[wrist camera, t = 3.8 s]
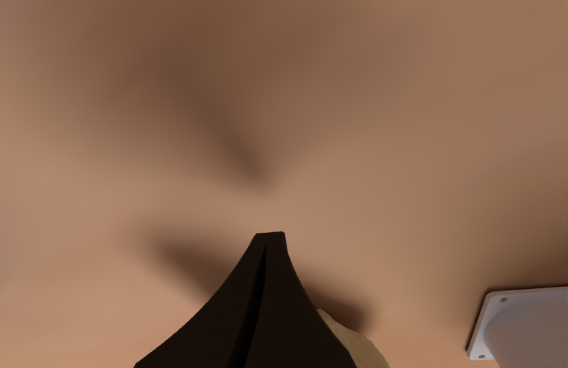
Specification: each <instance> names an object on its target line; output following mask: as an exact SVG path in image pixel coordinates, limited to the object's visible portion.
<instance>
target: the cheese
mask: <svg viewBox="0 0 568 368" xmlns="http://www.w3.org/2000/svg"><path fill="white" fill-rule="evenodd" d="M317 311H318V312H319V314H320V315H321V317H322V318H323V320H324V321H325V322H326V324H327V325H328V326H329V328H330V329H331V330H332V332H333V333H334V334H335V335H336V337H337V338H338V339H339V340H340V341H341V343H342V344H343V345H344V346H345V347H346V348H347V350H348V351H349V353H350V355H351V357H352V359H353V360H354V362H355V364H356V366H357V368H390V367H389V365H388V363H387V361H386V360H385V358H384V357H383V355H382V354H381V353H380V352H379V351H378V349H377V348H376V347H375V346H374V344H373V343H372V342H371V341H370V340H368V339H367V338H366V337H365V336H363V335H362V334H360V333H357V332H355V331H353V330H350V329H348V328H346V327H344V326H343V325H341V324H339V323H338V322H335V321H334V320H333V319H332V318H331V317H330V316H329V314H327V313H326V312H324V311H323V310H321V309H317Z"/></svg>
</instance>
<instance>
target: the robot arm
mask: <svg viewBox="0 0 568 368" xmlns="http://www.w3.org/2000/svg"><path fill="white" fill-rule="evenodd" d="M467 356H468V357H469V359H471V360H486V359H495V360H496V362H497V363H498V365H499V367H500V368H568V286H567V287H552V288H538V289H524V290H509V291H495V292H490V293H488V294H487V296H486V298H485V301H484V304H483V306H482V309H481V312H480V315H479V318H478V321H477V324H476V327H475V330H474V333H473V336H472V339H471V342H470V345H469V348H468V351H467ZM134 368H357V366H356V364H355V362H354V360H353V359H352V357H351V355H350V353H349V351H348V350H347V348H346V347H345V346H344V345H343V344H342V343H341V341H340V340H339V339H338V338H337V337H336V335H335V334H334V333H333V332H332V330H331V329H330V328H329V326H328V325H327V324H326V322H325V321H324V320H323V318H322V317H321V315H320V314H319V312H318V311H317V309H316V308H315V307H314V305H313V304H312V302H311V300H310V299H309V297H308V295H307V294H306V292H305V290H304V288H303V287H302V285H301V283H300V281H299V279H298V277H297V275H296V272H295V270H294V268H293V265H292V263H291V260H290V258H289V255H288V251H287V244H286V238H285V233H284V232H282V231H280V232H269V233H258V234H256V235H255V236H254V237H253V239H252V241H251V243H250V245H249V246H248V248H247V250H246V251H245V253H244V255H243V256H242V258H241V259H240V261H239V262H238V264H237V265H236V267H235V268H234V270H233V271H232V272H231V274H230V275H229V276H228V278H227V279H226V280H225V282H224V283H223V284H222V286H221V287H220V288H219V289H218V290H217V292H216V293H215V294H214V295H213V296H212V297H211V299H210V300H209V301H208V302H207V303H206V304H205V305H204V306H203V307H202V308H201V309H200V310H199V311H198V312H197V313H196V314H195V315H194V316H193V317H192V318H191V319H190V320H189V321H188V322H187V323H186V324H185V325H184V326H182V327H181V328H180V329H179V330H178V331H177V332H176V333H174V334H173V335H172V336H171V337H170V338H168V339H167V340H166V341H165V342H164V343H162V344H161V345H160V346H158V347H157V348H156V349H154V350H153V351H152V352H151V353H149V354H148V355H147V356H145V357H144V358H143V359H141V360H140V361H138V362H137V363H136V364H135V366H134Z"/></svg>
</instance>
